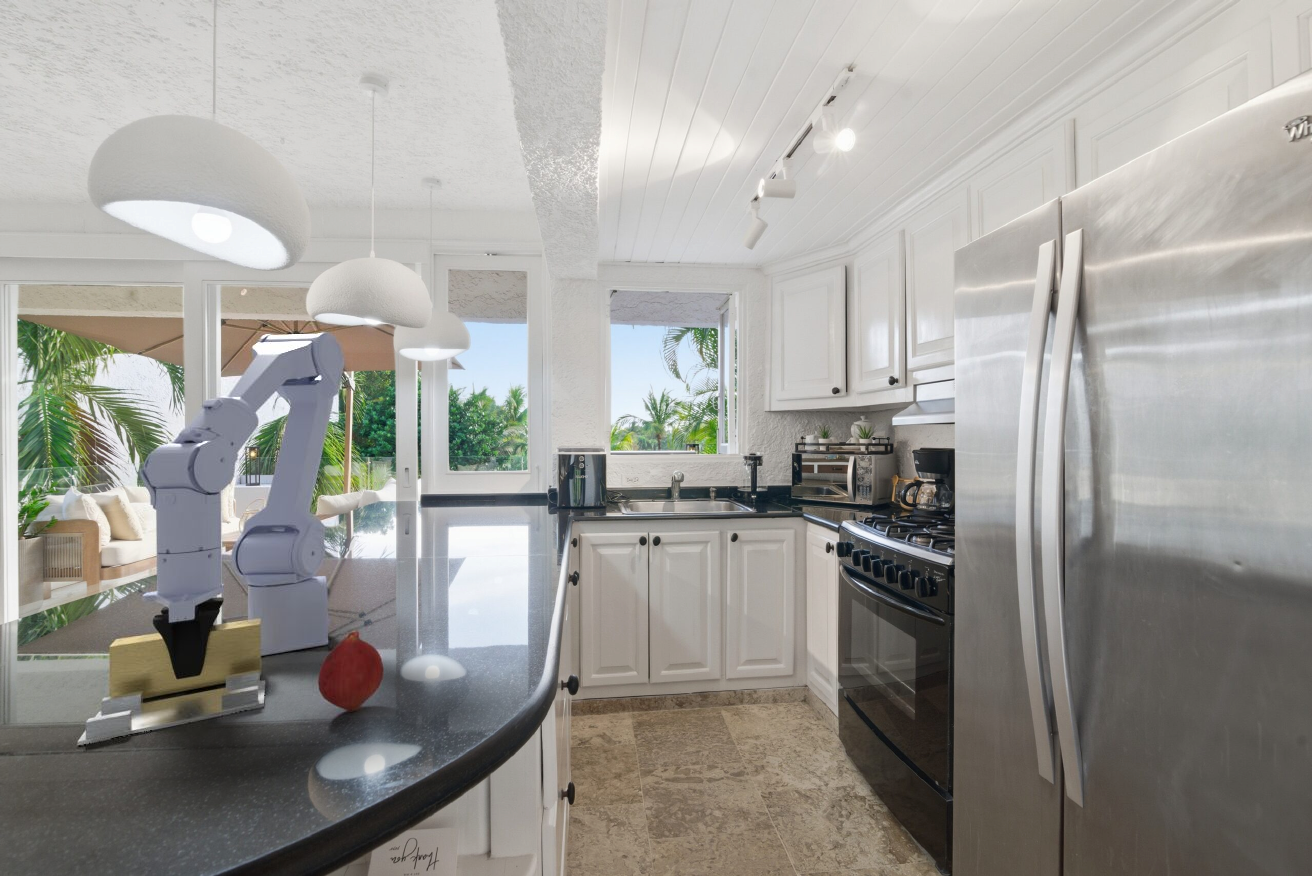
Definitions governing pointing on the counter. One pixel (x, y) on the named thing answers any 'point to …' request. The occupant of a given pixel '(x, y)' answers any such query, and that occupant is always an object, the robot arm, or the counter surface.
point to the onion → (350, 673)
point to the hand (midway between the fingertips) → (191, 671)
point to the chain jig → (173, 708)
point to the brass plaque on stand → (151, 670)
